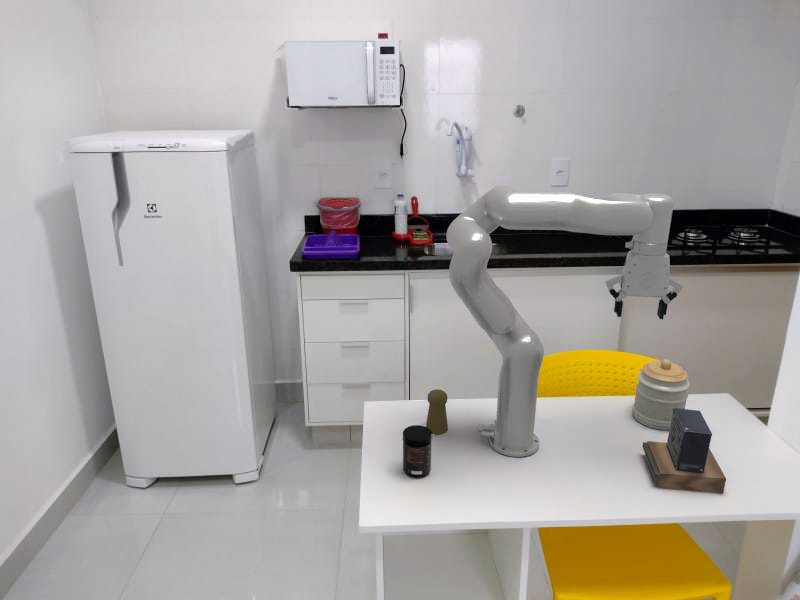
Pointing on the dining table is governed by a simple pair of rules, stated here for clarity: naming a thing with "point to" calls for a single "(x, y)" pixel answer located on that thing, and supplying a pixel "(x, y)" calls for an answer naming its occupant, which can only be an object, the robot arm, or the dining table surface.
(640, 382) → the jar
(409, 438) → the supplement container
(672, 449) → the small box
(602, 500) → the dining table surface
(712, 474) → the dock
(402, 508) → the dining table surface
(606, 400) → the dining table surface
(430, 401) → the cork
